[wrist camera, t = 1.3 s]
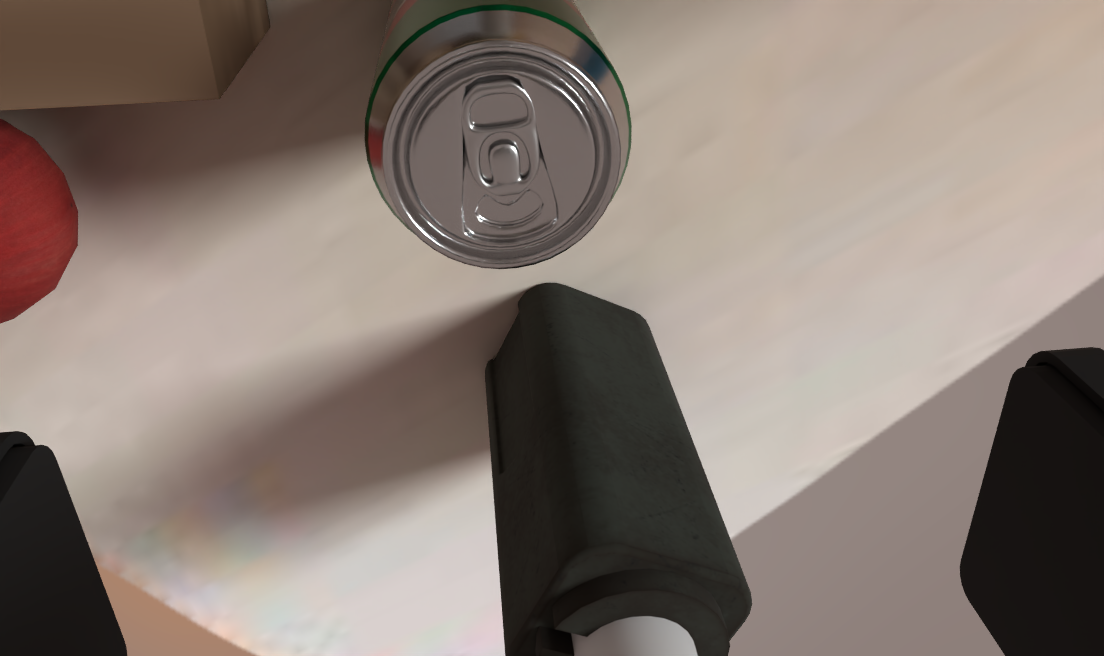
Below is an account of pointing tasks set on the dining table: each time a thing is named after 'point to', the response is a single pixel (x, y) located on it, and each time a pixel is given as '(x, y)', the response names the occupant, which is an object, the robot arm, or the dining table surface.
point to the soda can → (496, 127)
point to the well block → (123, 50)
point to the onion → (31, 222)
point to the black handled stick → (602, 492)
